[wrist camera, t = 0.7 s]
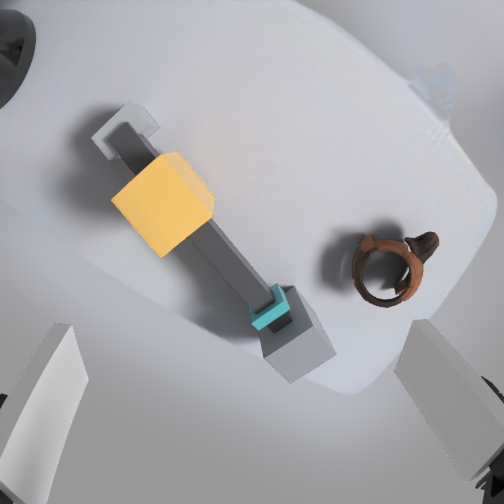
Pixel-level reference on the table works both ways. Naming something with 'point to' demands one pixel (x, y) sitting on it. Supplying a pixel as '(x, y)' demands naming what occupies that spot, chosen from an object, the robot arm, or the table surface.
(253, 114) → the table surface
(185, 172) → the sleeve
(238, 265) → the slider rail
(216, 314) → the table surface
